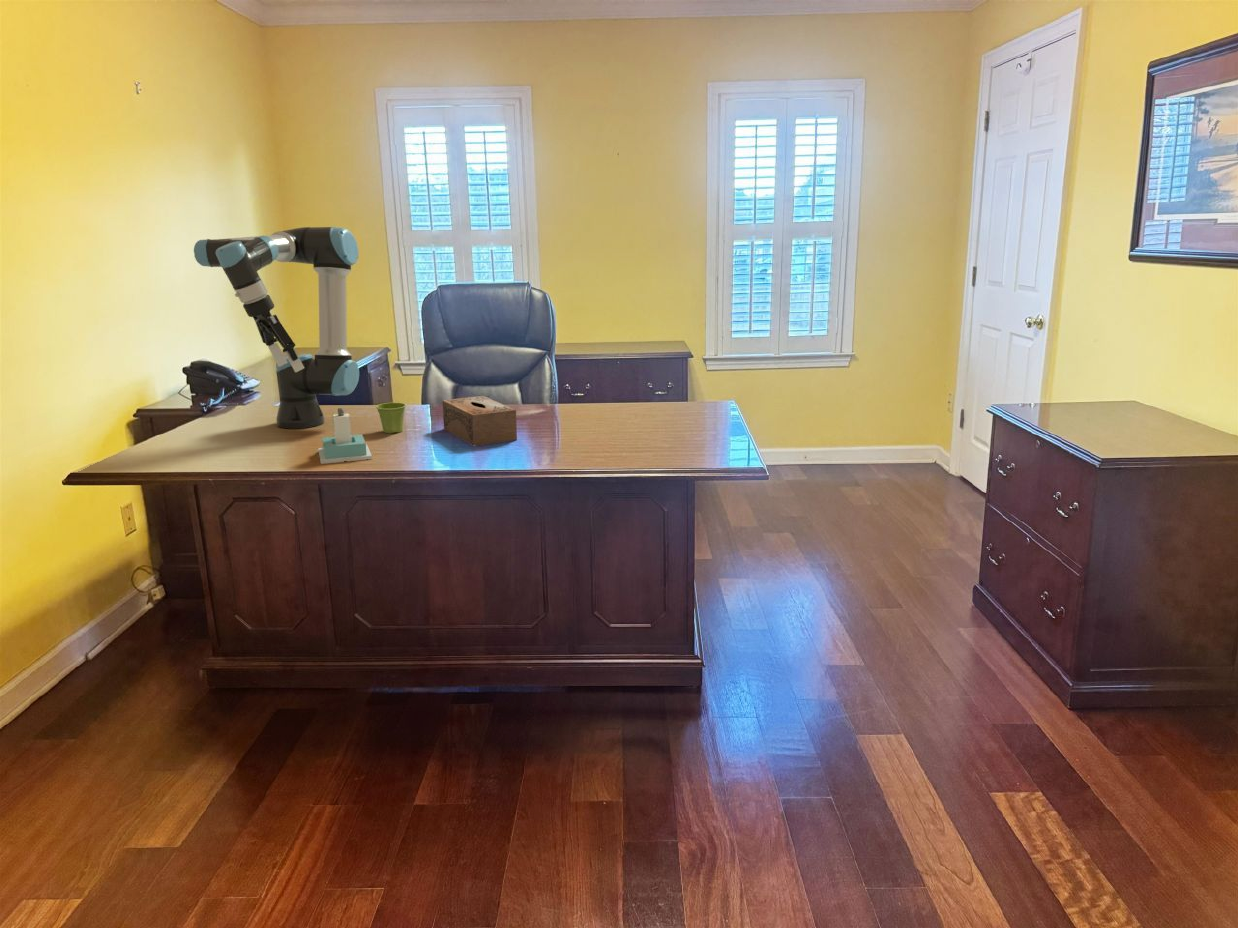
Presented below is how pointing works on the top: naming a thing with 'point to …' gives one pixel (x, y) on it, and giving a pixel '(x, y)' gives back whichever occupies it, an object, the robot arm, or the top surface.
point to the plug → (342, 427)
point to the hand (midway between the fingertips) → (291, 367)
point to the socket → (344, 450)
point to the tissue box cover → (479, 420)
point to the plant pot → (391, 416)
